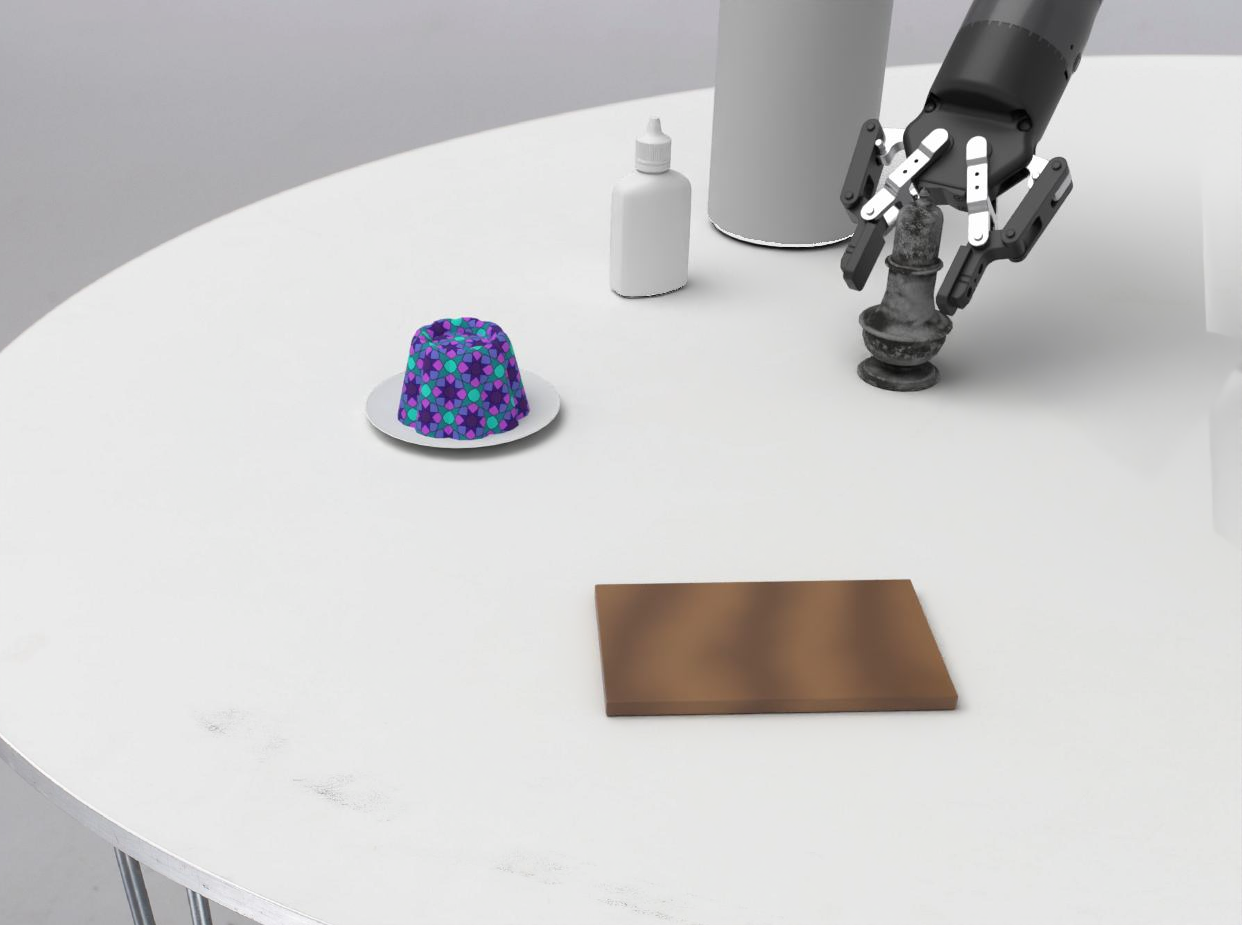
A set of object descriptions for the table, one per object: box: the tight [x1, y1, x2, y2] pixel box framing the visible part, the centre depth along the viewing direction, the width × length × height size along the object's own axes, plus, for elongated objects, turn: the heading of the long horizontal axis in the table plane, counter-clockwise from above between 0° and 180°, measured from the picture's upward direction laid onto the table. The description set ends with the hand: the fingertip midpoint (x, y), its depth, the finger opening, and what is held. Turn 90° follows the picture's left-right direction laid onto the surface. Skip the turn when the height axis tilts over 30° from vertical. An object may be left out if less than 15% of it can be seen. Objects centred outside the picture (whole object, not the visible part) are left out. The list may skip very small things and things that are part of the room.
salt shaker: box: [856, 187, 954, 392], centre depth 96 cm, size 6×6×12 cm
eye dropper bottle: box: [608, 115, 692, 297], centre depth 107 cm, size 4×6×12 cm
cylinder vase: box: [707, 0, 894, 244], centre depth 114 cm, size 12×12×25 cm
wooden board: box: [594, 578, 959, 717], centre depth 74 cm, size 16×10×1 cm, turn 92°
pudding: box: [364, 316, 561, 449], centre depth 93 cm, size 12×12×5 cm
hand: (897, 296), depth 95 cm, fingers open, 5 cm apart
